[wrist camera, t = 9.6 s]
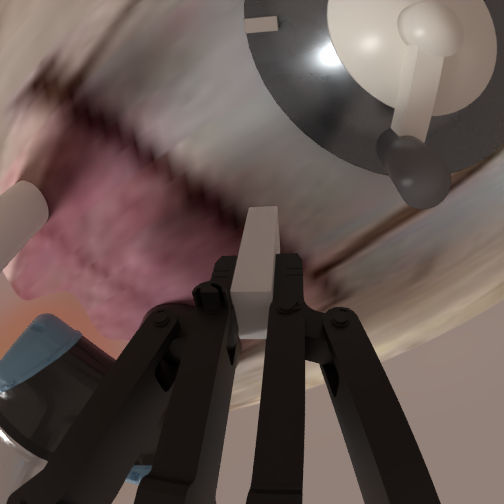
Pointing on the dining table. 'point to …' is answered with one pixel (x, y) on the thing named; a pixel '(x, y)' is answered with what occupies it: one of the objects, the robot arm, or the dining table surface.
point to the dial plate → (359, 89)
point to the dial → (415, 75)
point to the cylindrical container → (20, 218)
